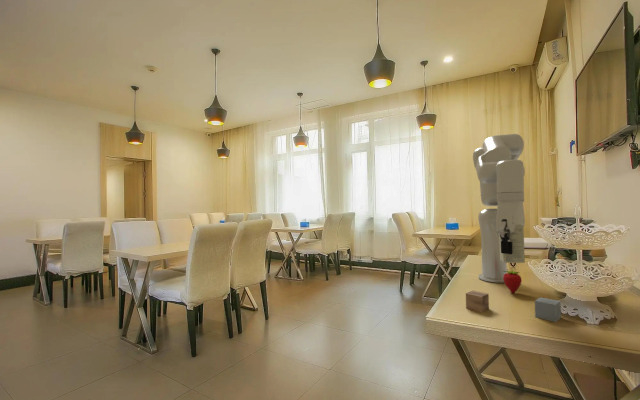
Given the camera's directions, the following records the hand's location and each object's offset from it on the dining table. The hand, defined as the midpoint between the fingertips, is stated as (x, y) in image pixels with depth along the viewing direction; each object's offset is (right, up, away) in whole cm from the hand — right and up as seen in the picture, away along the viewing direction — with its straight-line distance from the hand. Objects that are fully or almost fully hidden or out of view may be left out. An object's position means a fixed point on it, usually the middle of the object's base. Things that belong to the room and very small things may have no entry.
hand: (511, 251), depth 98 cm
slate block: (+6, -18, -9) cm, 21 cm away
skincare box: (0, -4, 0) cm, 4 cm away
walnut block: (-11, -19, 0) cm, 22 cm away
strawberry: (+10, -19, +15) cm, 26 cm away
